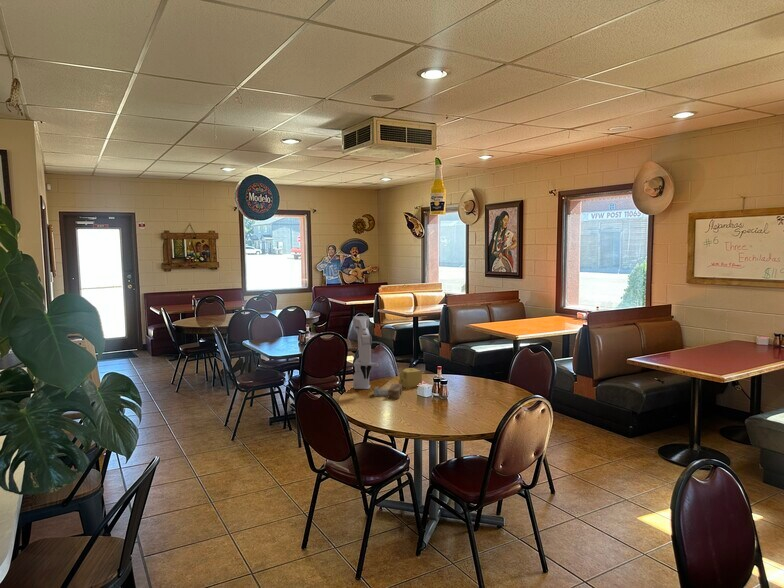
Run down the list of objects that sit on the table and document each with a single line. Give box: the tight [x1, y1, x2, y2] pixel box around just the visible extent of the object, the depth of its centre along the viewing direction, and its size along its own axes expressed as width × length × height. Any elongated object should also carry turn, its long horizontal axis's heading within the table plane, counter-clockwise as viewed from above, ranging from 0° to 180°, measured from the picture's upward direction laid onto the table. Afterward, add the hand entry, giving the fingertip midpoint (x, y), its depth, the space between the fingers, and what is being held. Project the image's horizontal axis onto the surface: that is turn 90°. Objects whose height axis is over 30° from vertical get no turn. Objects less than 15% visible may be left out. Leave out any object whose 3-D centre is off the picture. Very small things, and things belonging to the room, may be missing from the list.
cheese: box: [398, 367, 423, 389], centre depth 335 cm, size 10×11×10 cm
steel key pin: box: [373, 386, 389, 397], centre depth 314 cm, size 13×6×4 cm, turn 81°
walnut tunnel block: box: [387, 383, 403, 400], centre depth 313 cm, size 6×14×5 cm, turn 171°
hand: (366, 378), depth 315 cm, fingers closed
